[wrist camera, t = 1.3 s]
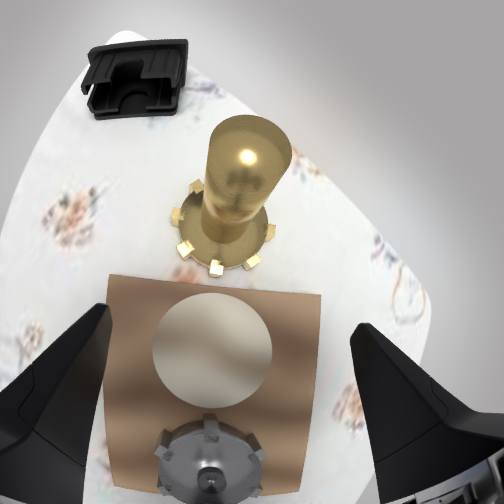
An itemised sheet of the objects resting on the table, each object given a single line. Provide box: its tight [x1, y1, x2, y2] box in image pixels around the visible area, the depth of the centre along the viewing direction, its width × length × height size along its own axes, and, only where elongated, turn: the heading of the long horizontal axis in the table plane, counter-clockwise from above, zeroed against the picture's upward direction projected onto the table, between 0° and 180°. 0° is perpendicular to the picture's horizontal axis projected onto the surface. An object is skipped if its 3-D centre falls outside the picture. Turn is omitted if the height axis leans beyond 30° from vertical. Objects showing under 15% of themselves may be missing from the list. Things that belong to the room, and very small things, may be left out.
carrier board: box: [103, 274, 321, 497], centre depth 19 cm, size 20×17×2 cm
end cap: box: [81, 39, 188, 120], centre depth 21 cm, size 10×7×7 cm
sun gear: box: [154, 413, 267, 504], centre depth 15 cm, size 9×8×4 cm
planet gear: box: [171, 115, 292, 278], centre depth 17 cm, size 8×8×12 cm
